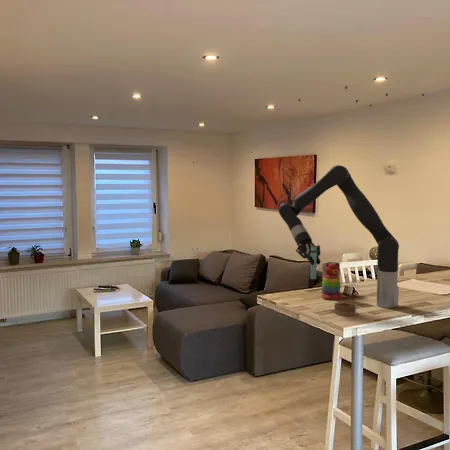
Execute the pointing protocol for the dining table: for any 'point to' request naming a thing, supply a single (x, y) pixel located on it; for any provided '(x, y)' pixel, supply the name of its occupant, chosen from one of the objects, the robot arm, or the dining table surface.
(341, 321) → the dining table surface
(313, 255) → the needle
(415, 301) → the dining table surface
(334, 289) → the stacking bear
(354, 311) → the brown thick ring
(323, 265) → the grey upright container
